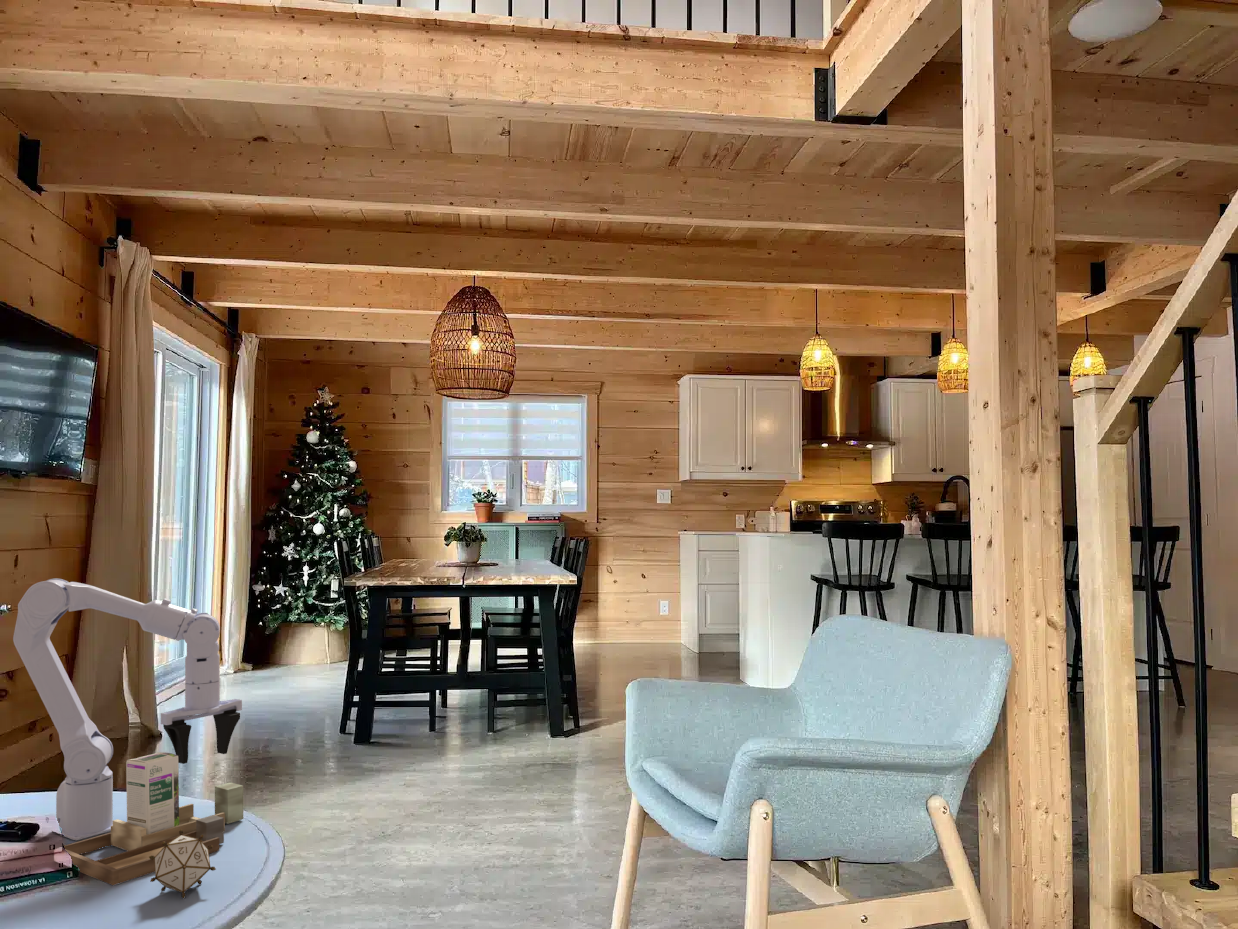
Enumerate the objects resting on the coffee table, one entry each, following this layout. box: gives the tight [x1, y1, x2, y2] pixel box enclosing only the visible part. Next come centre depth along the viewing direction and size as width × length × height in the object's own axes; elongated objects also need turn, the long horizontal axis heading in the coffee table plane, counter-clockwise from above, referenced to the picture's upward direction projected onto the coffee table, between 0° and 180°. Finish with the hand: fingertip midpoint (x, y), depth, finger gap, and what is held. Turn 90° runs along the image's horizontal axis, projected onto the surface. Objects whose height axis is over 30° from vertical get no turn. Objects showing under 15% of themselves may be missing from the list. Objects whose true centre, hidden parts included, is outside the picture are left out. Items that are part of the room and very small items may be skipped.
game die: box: [149, 829, 217, 899], centre depth 135 cm, size 9×8×10 cm
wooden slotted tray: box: [110, 782, 244, 851], centre depth 160 cm, size 10×20×6 cm, turn 145°
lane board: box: [63, 830, 220, 886], centre depth 150 cm, size 18×17×2 cm
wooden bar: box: [107, 814, 225, 869], centre depth 149 cm, size 5×17×4 cm, turn 144°
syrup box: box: [125, 751, 180, 835], centre depth 155 cm, size 6×6×14 cm
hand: (202, 758), depth 170 cm, fingers open, 7 cm apart
